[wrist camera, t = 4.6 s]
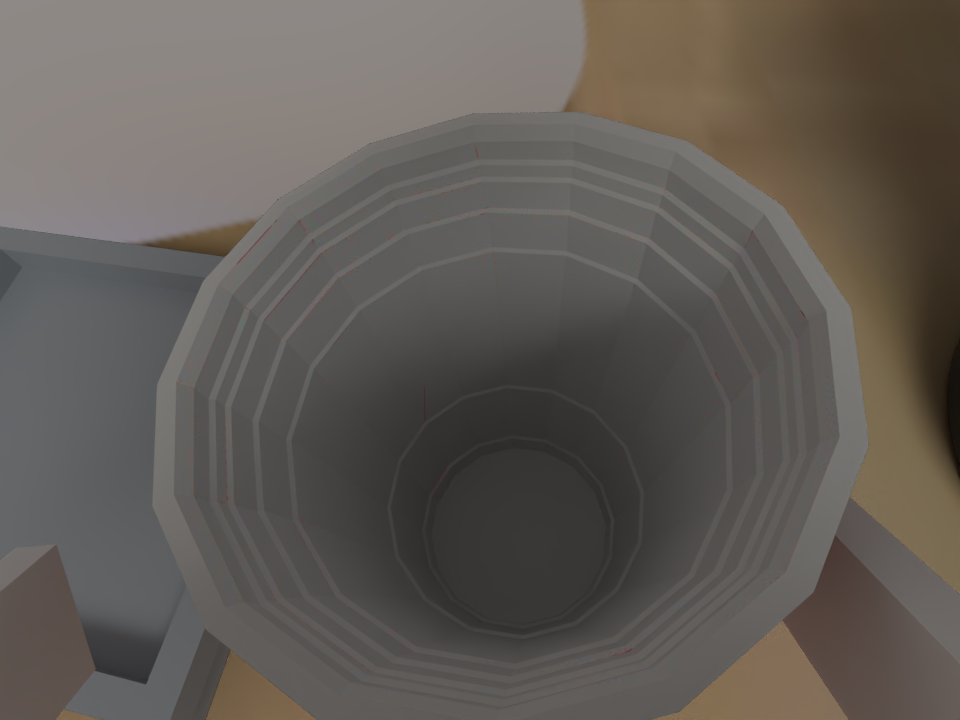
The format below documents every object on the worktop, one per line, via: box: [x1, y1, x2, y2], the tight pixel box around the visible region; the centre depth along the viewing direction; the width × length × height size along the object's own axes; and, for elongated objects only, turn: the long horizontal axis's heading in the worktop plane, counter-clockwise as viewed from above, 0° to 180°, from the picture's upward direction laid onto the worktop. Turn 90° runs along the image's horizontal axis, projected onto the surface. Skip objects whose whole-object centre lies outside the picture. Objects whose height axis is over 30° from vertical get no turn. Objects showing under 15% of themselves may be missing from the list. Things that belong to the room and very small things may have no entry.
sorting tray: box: [0, 227, 230, 720], centre depth 22 cm, size 15×15×2 cm
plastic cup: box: [152, 112, 869, 720], centre depth 15 cm, size 11×11×12 cm
